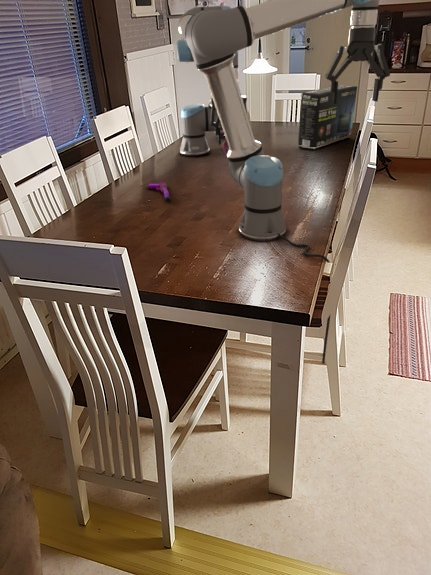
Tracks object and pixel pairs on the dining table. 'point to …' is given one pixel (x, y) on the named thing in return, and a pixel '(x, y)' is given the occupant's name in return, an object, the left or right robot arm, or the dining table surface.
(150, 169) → the dining table surface
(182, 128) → the left robot arm
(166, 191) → the handgun
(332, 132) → the router box
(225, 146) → the action figure
